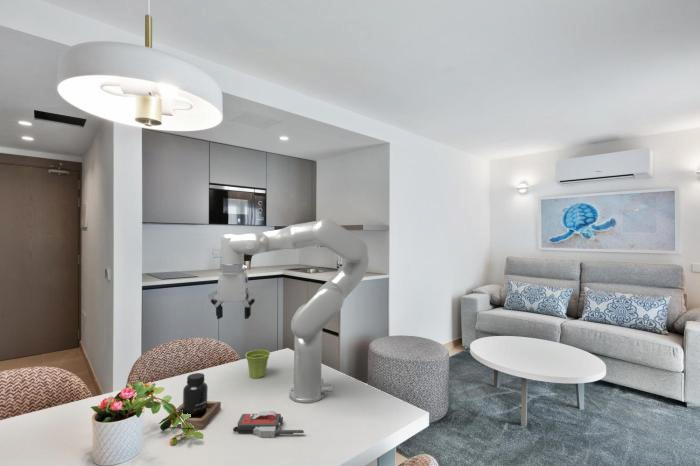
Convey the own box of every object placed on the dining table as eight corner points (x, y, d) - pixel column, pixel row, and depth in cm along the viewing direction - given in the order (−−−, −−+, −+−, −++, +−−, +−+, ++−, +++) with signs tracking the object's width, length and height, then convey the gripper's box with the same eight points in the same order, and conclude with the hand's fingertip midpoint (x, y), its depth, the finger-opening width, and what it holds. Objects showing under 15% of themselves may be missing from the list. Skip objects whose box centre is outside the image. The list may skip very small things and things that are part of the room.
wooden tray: (220, 409, 112) (220, 401, 112) (202, 429, 101) (202, 420, 101) (186, 407, 113) (186, 399, 113) (164, 427, 102) (164, 418, 102)
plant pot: (266, 380, 135) (266, 358, 135) (241, 380, 135) (242, 357, 135) (272, 371, 144) (272, 349, 144) (249, 370, 144) (249, 349, 144)
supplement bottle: (201, 421, 104) (201, 380, 104) (178, 421, 104) (178, 380, 104) (210, 409, 111) (211, 371, 111) (189, 409, 111) (189, 371, 111)
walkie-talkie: (230, 439, 97) (303, 438, 98) (230, 423, 97) (303, 423, 98) (239, 422, 106) (306, 421, 106) (239, 407, 106) (306, 407, 106)
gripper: (260, 267, 126) (261, 315, 126) (213, 268, 127) (213, 315, 127) (253, 270, 119) (254, 320, 119) (203, 270, 119) (204, 320, 120)
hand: (233, 318), depth 123 cm, fingers open, 9 cm apart
